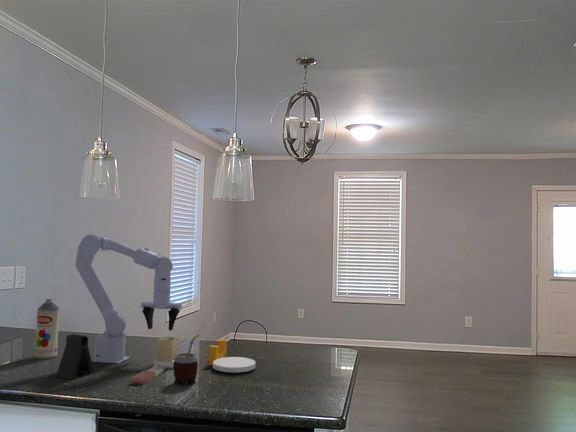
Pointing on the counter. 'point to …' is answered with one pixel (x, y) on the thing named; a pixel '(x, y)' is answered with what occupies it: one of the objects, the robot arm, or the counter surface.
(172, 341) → the tan rectangular block
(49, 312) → the aerosol can
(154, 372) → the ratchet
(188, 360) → the mate gourd
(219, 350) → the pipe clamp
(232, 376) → the counter surface
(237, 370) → the plastic lid
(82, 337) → the phone stand
